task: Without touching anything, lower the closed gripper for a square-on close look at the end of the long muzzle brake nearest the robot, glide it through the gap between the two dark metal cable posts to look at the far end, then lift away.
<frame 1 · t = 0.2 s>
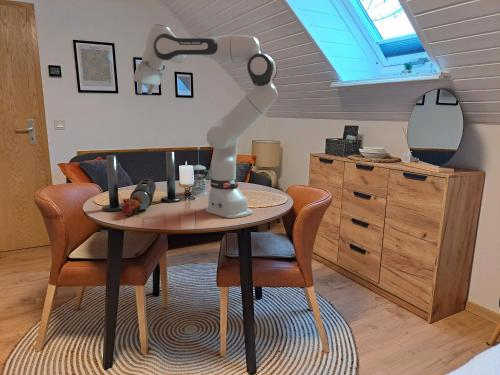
hand: (144, 93, 162), 51 cm above the table, tool tilted 20°, fingers open, 8 cm apart
french press: (200, 193, 195), on the table
muzzle brake: (144, 205, 170), on the table
pomegranate: (132, 215, 153), on the table
cable posts: (144, 204, 170), on the table
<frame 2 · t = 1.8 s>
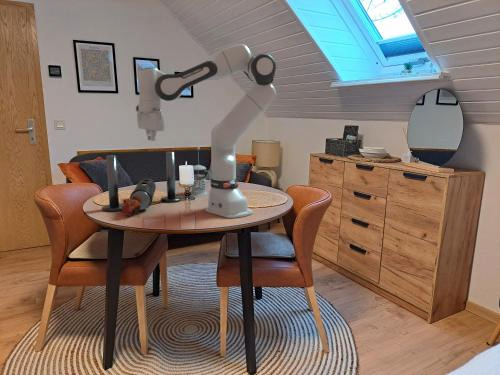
hand: (151, 140, 155), 31 cm above the table, tool pointing down, fingers closed
nothing on the table moved.
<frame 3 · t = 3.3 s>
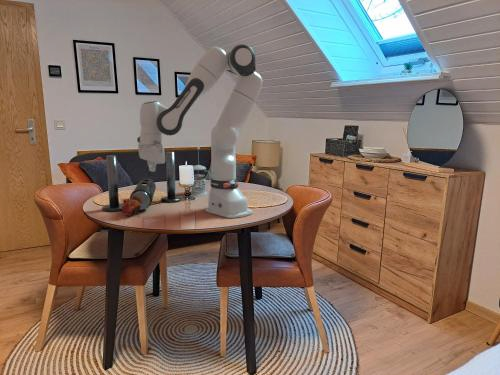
hand: (152, 171, 158), 18 cm above the table, tool pointing down, fingers closed
nothing on the table moved.
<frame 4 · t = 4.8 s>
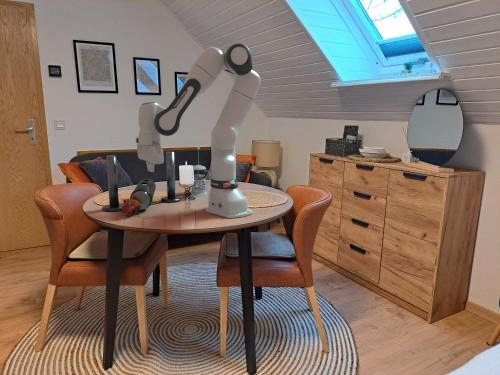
hand: (150, 171, 159), 17 cm above the table, tool pointing down, fingers closed
nothing on the table moved.
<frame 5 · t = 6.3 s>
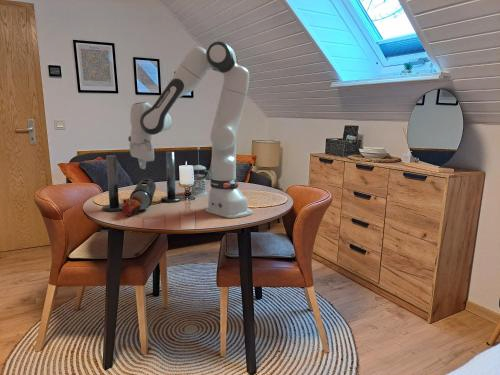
hand: (142, 168, 166), 17 cm above the table, tool pointing down, fingers closed
nothing on the table moved.
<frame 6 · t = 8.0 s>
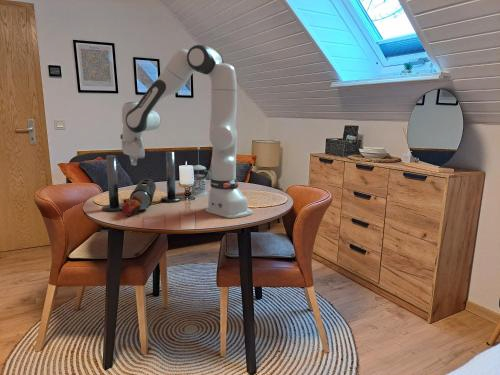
hand: (133, 165, 175), 17 cm above the table, tool pointing down, fingers closed
nothing on the table moved.
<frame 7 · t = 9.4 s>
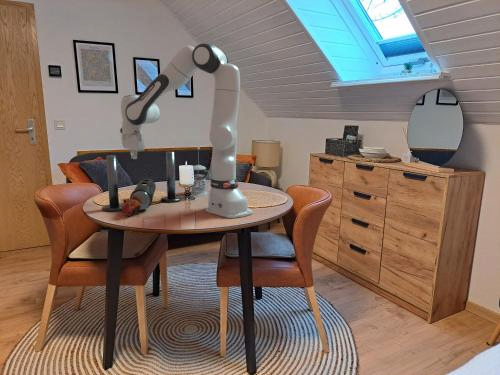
hand: (134, 158, 174), 20 cm above the table, tool pointing down, fingers closed
nothing on the table moved.
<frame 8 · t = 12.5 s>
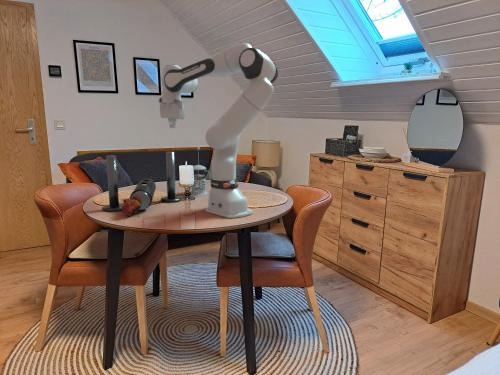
hand: (172, 128, 179), 35 cm above the table, tool pointing down, fingers closed
nothing on the table moved.
at the end: muzzle brake moved 0.4 cm from its start; muzzle brake tilted 0°; pomegranate moved 0.3 cm from its start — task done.
